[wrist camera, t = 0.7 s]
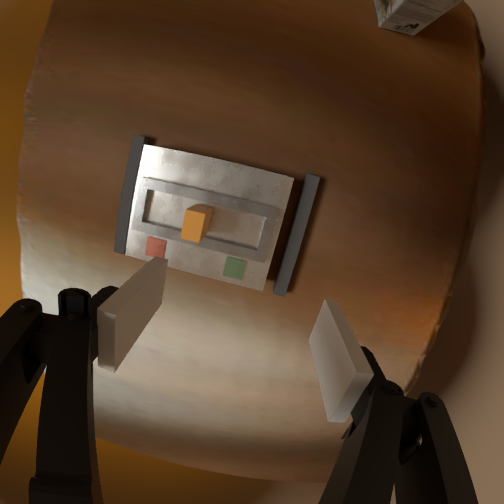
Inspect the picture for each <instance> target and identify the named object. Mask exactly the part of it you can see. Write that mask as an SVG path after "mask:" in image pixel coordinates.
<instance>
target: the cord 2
mask: <svg viewBox="0 0 504 504" xmlns="http://www.w3.org/2000/svg"><path fill="white" fill-rule="evenodd" d="M319 180H320V177H318V176H314V175H311V174H307V173H306V175H305V178H304V182H303V186H302V189H301V193H300V197H299V200H298V204H297V207H296V211H295V214H294V218H293V222H292V225H291V229H290V232H289V236H288V239H287V243H286V246H285V249H284V253H283V256H282V260H281V263H280V266H279V270H278V273H277V277H276V280H275V283H274V286H273V294H276V295H280V296H284V297H285V294H286V291H287V288H288V285H289V282H290V279H291V275H292V272H293V269H294V266H295V262H296V259H297V256H298V253H299V249H300V246H301V243H302V239H303V236H304V233H305V229H306V226H307V222H308V219H309V215H310V212H311V209H312V205H313V201H314V198H315V194H316V191H317V187H318V184H319Z"/></svg>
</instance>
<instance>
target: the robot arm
mask: <svg viewBox="0 0 504 504" xmlns="http://www.w3.org/2000/svg"><path fill="white" fill-rule="evenodd" d="M167 265H168V259H165V258H161V257H157V256H155V257H154V258H153V259H151V260H150V261H149V262H148V263H147V264H146V265H145V266H143V267H142V268H141V269H140V270H139V271H138V272H137V273H136V274H134V275H133V276H132V277H131V278H130V279H129V280H128V281H127V282H125V283H124V284H123V285H122V286H121V287H120V288H117V287H114V286H108V287H105V288H102V289H101V290H100V291H98V292H97V294H95V295H94V296H92V298H91V295H90V294H89V293H88V292H87V291H85V290H83V289H79V288H68V289H64V290H62V291H60V293H59V294H58V307H59V315H52V314H47V313H43V312H42V305H41V303H40V302H39V301H36V300H34V299H29V298H27V299H26V298H25V299H21V300H18V301H17V302H15V303H14V304H13V305H12V306H11V307H10V308H9V309H8V310H7V311H6V312H5V313H4V314H3V315H2V316H1V317H0V465H1V462H2V459H3V457H4V454H5V451H6V449H7V447H8V444H9V442H10V440H11V437H12V435H13V433H14V430H15V428H16V426H17V424H18V421H19V419H20V417H21V415H22V412H23V411H24V408H25V406H26V404H27V402H28V400H29V398H30V396H31V394H32V392H33V390H34V388H35V386H36V384H37V383H38V381H39V379H40V377H41V375H42V373H43V371H44V369H45V368H46V366H47V368H46V374H45V380H44V386H43V392H42V399H41V407H40V415H39V425H38V438H37V457H36V474H35V476H34V477H31V479H30V482H29V504H104V503H103V497H102V491H101V485H100V478H99V470H98V462H97V453H96V442H95V428H94V408H93V361H94V360H95V358H96V357H97V356H98V366H99V367H101V368H104V369H106V370H109V371H111V372H114V373H115V371H116V370H117V368H118V367H119V365H120V364H121V362H122V361H123V359H124V358H125V356H126V355H127V353H128V352H129V350H130V349H131V347H132V346H133V344H134V343H135V342H136V340H137V339H138V337H139V336H140V334H141V333H142V331H143V330H144V328H145V327H146V325H147V324H148V322H149V321H150V320H151V318H152V317H153V315H154V314H155V312H156V311H157V310H158V308H159V307H160V305H161V304H162V297H163V290H164V284H165V277H166V271H167ZM309 343H310V347H311V351H312V355H313V359H314V363H315V367H316V371H317V375H318V379H319V384H320V388H321V392H322V396H323V401H324V405H325V409H326V414H327V418H328V422H340V423H345V421H346V420H347V418H348V417H349V415H350V414H351V415H352V418H353V422H352V423H351V425H350V426H349V427H348V429H347V430H346V432H345V433H344V435H343V436H342V438H341V439H344V438H345V439H344V442H343V445H342V447H341V450H340V453H339V456H338V458H337V461H336V463H335V466H334V468H333V471H332V473H331V476H330V478H329V481H328V483H327V485H326V488H325V490H324V492H323V494H322V497H321V499H320V501H319V503H318V504H390V501H391V495H392V491H393V485H394V484H395V495H396V504H478V500H477V497H476V493H475V489H474V486H473V483H472V480H471V476H470V473H469V470H468V467H467V464H466V461H465V458H464V455H463V452H462V449H461V446H460V443H459V441H458V438H457V435H456V432H455V430H454V427H453V425H452V422H451V420H450V417H449V414H448V412H447V409H446V407H445V405H444V403H443V401H442V400H441V399H440V398H439V396H437V395H435V394H434V393H429V392H423V393H421V395H420V396H419V398H418V399H417V400H415V399H412V398H408V397H405V396H404V393H403V390H402V389H401V387H400V386H398V385H397V384H396V383H394V382H392V381H389V380H386V378H385V376H384V374H383V372H382V370H381V368H380V366H378V363H377V361H376V359H375V357H374V355H373V353H372V352H371V351H369V350H368V349H367V348H366V347H363V346H360V345H359V343H358V341H357V339H356V337H355V335H354V333H353V331H352V329H351V327H350V325H349V323H348V321H347V319H346V318H345V316H344V314H343V312H342V310H341V308H340V306H339V304H338V302H337V301H332V300H328V299H324V302H323V305H322V307H321V310H320V313H319V315H318V318H317V320H316V323H315V326H314V328H313V331H312V333H311V336H310V338H309ZM421 438H422V443H421V446H420V443H419V440H420V439H421Z"/></svg>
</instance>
